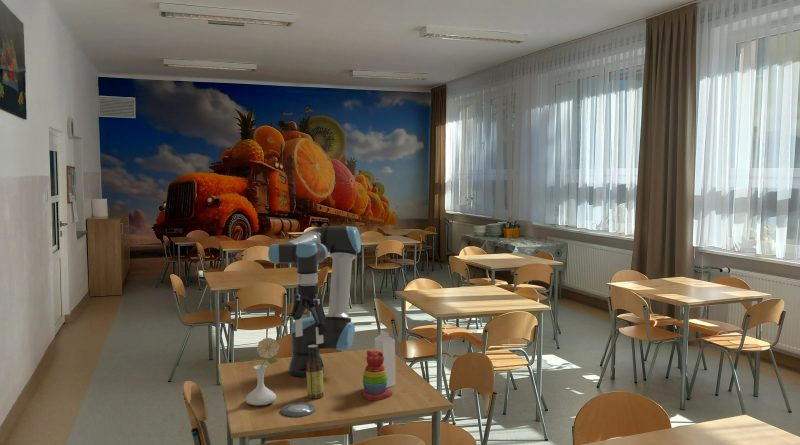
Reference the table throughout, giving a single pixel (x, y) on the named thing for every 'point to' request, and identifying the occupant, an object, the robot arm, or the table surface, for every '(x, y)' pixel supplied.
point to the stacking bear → (375, 377)
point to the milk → (387, 355)
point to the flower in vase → (261, 393)
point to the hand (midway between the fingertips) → (309, 339)
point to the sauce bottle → (314, 373)
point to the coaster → (298, 409)
